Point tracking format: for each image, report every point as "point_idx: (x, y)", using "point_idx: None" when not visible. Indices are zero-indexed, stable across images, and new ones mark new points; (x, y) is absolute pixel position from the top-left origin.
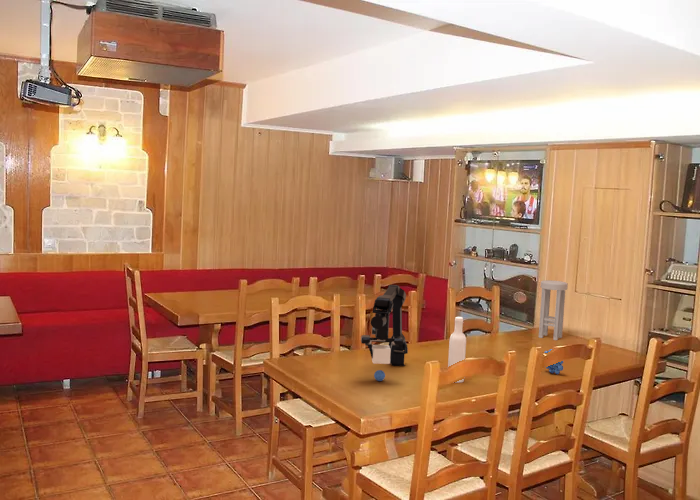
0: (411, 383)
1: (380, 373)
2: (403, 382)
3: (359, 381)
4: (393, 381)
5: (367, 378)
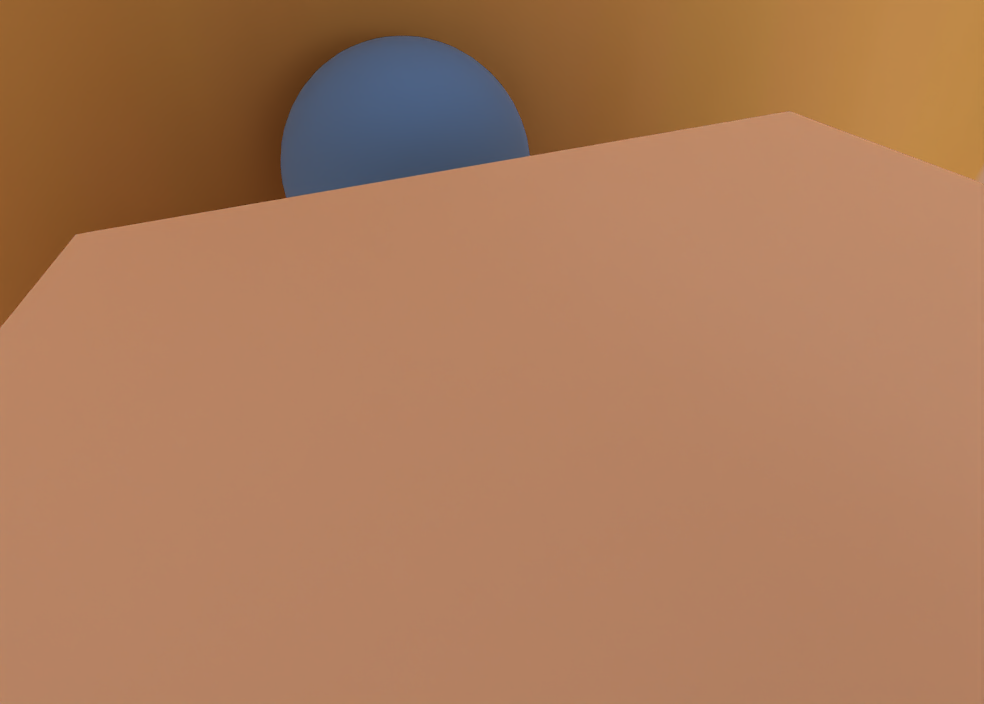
0: (928, 135)
1: None
2: (817, 113)
3: (17, 284)
4: (656, 98)
5: (102, 13)
